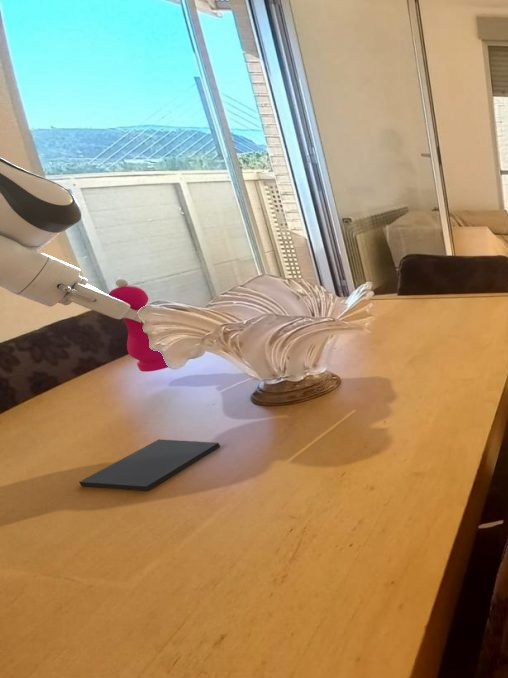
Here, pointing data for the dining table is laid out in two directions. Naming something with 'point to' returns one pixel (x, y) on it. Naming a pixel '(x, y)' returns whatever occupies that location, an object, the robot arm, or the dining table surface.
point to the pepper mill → (138, 328)
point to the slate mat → (150, 465)
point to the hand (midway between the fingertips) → (141, 317)
